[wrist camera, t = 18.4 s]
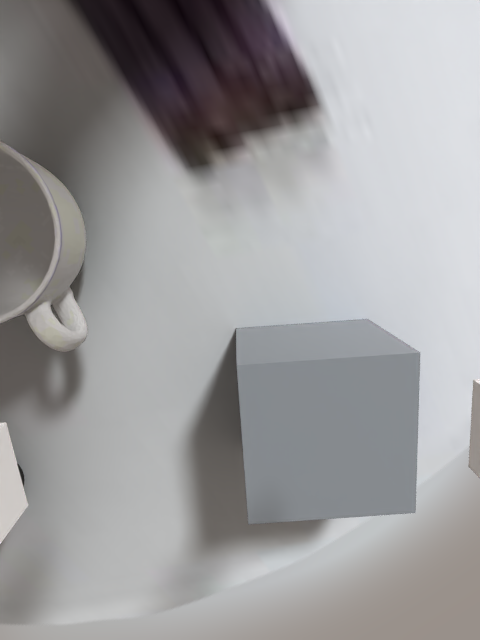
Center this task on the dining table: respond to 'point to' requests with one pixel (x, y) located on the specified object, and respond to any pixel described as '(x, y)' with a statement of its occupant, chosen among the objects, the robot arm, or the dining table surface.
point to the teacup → (40, 251)
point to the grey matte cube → (327, 421)
